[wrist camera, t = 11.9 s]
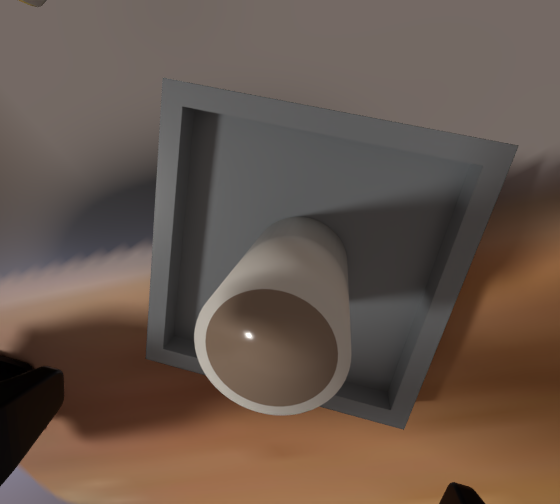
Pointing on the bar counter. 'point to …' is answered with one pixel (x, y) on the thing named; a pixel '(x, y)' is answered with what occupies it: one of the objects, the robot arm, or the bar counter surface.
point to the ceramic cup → (280, 321)
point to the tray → (330, 211)
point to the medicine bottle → (34, 2)
